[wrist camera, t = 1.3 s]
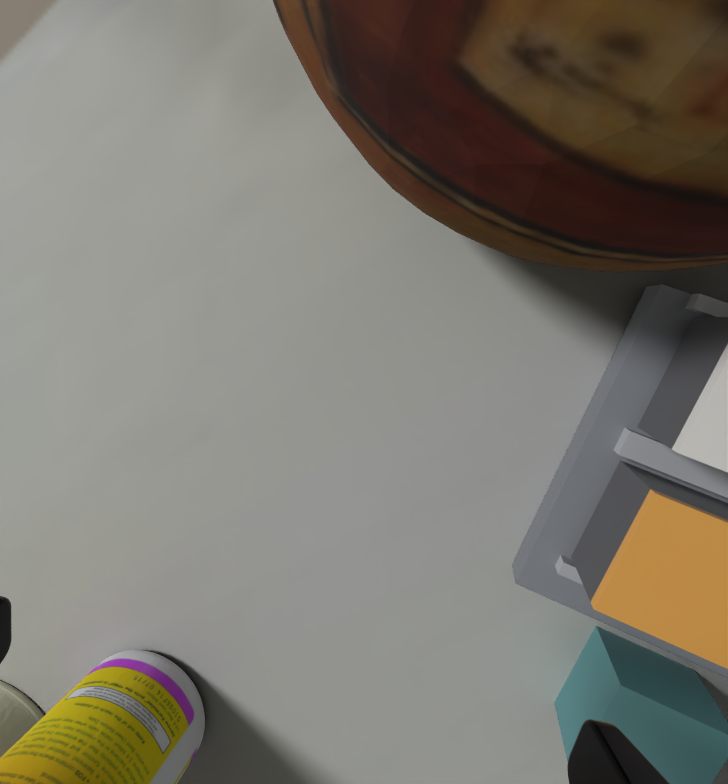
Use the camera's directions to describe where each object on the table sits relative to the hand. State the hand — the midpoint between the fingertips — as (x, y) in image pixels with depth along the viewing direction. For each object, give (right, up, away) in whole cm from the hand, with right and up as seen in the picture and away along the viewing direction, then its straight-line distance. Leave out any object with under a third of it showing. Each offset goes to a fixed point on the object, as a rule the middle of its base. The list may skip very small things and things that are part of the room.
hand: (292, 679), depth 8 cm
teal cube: (+12, -8, +13) cm, 19 cm away
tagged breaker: (+11, -1, +10) cm, 15 cm away
